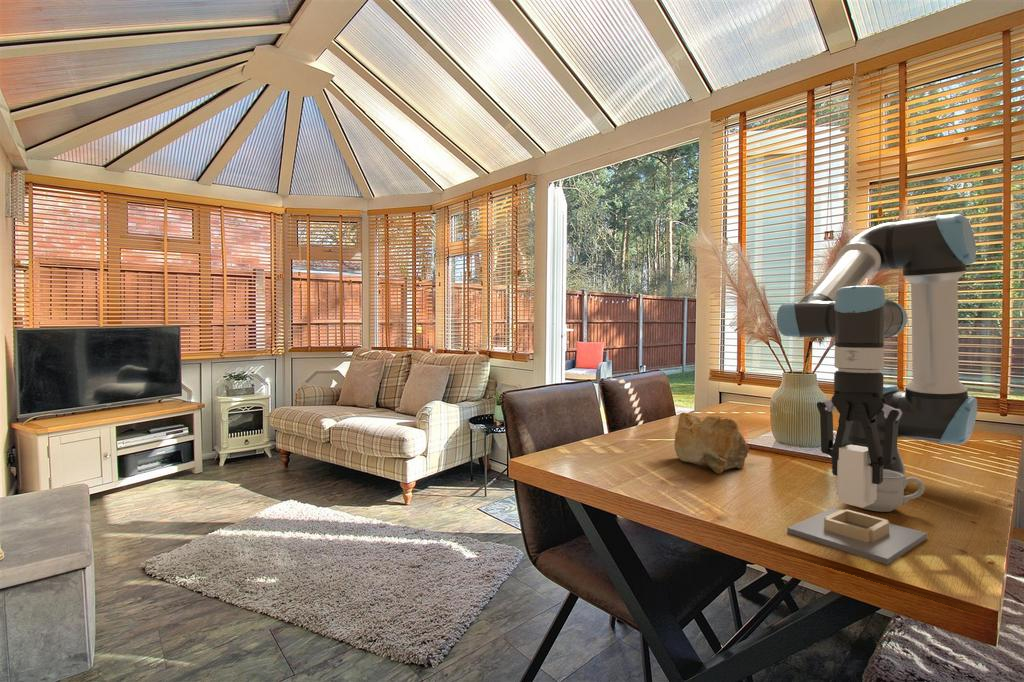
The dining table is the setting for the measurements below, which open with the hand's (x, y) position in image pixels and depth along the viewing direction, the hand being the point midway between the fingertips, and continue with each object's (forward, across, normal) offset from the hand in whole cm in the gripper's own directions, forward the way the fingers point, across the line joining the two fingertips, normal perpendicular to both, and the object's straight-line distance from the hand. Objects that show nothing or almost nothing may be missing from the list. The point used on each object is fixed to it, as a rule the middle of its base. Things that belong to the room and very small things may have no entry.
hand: (856, 496), depth 95 cm
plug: (+1, 0, 0) cm, 1 cm away
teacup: (+7, -3, +20) cm, 22 cm away
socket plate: (+7, 0, 0) cm, 7 cm away
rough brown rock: (+7, -43, +22) cm, 49 cm away
